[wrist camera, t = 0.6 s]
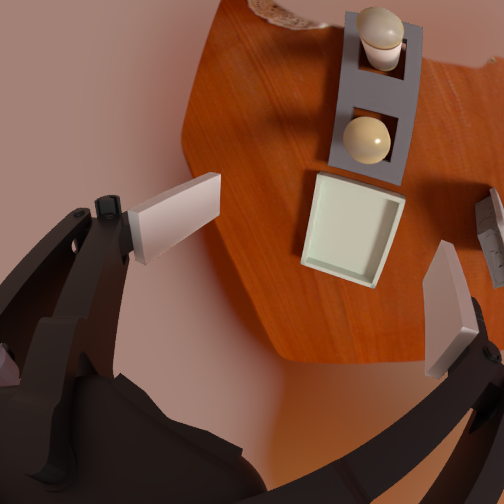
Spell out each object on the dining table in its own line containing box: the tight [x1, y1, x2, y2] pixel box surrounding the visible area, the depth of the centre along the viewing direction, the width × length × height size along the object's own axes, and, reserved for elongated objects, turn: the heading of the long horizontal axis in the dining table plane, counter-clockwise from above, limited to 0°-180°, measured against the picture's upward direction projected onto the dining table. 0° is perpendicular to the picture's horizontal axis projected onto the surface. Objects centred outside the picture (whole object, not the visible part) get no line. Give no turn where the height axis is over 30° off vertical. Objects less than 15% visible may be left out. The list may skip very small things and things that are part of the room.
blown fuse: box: [343, 117, 390, 164], centre depth 23 cm, size 4×4×12 cm
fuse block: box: [328, 11, 423, 186], centre depth 24 cm, size 20×9×2 cm, turn 176°
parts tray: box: [300, 171, 406, 289], centre depth 34 cm, size 13×11×2 cm
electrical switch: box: [475, 188, 504, 289], centre depth 21 cm, size 9×5×9 cm, turn 45°
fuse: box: [356, 7, 404, 72], centre depth 18 cm, size 4×4×12 cm
